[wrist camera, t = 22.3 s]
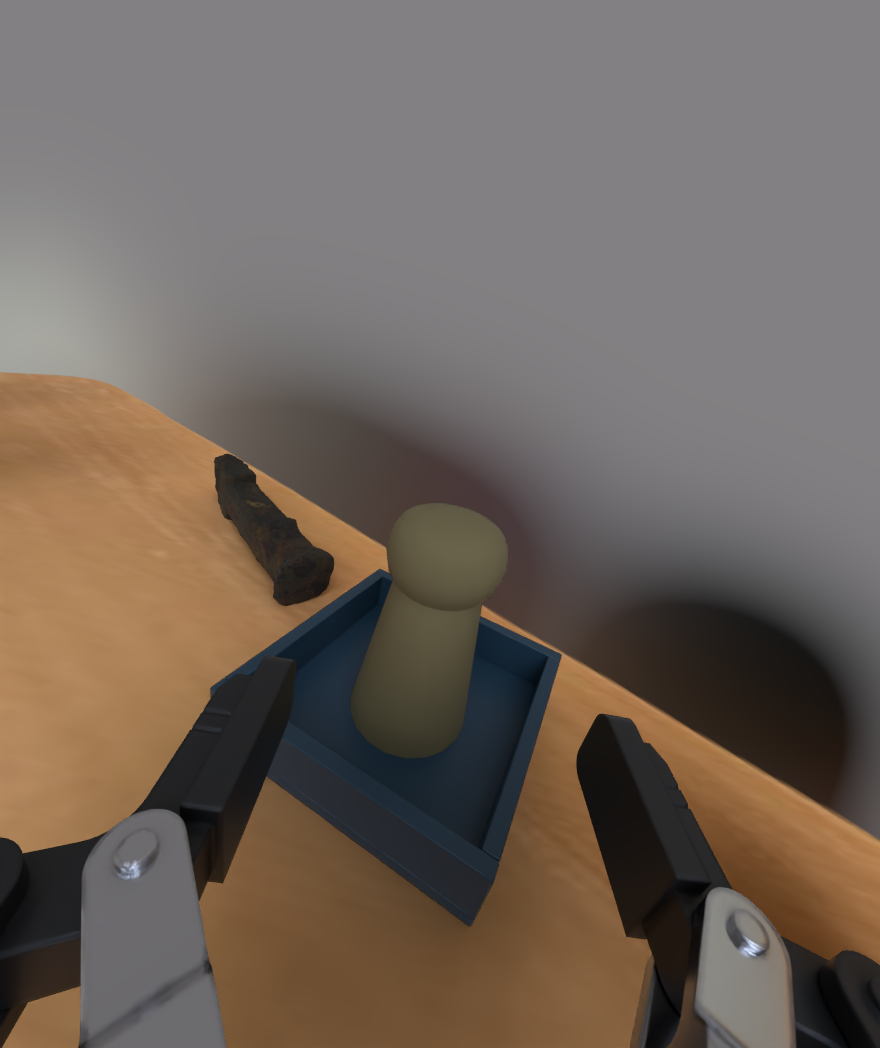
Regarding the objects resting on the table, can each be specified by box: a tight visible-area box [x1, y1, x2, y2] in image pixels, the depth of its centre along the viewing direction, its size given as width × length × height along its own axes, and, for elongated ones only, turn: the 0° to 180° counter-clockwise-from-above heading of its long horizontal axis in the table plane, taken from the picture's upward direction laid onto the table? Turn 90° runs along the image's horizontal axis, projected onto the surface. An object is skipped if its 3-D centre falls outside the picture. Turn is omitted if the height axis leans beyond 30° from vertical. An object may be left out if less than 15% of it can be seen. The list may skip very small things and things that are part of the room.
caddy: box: [210, 569, 562, 926], centre depth 21 cm, size 13×13×3 cm
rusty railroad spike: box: [214, 454, 334, 606], centre depth 33 cm, size 19×4×5 cm, turn 39°
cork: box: [350, 503, 508, 758], centre depth 19 cm, size 6×6×11 cm
